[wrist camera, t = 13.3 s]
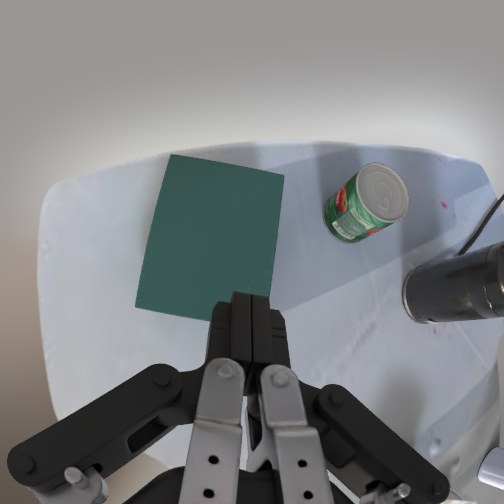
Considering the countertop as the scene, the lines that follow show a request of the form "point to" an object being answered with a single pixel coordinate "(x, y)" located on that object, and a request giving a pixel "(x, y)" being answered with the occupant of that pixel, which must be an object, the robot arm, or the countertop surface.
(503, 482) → the spray bottle
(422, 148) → the countertop surface
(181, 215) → the case lid
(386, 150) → the countertop surface
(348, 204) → the canned tomato
